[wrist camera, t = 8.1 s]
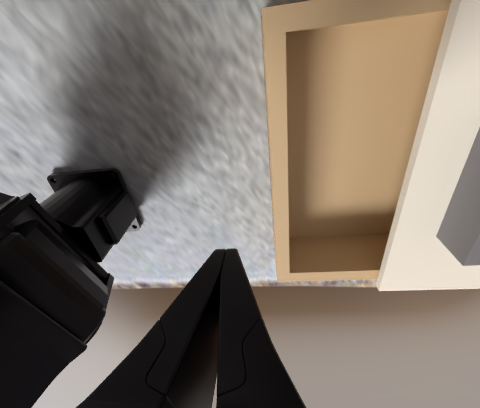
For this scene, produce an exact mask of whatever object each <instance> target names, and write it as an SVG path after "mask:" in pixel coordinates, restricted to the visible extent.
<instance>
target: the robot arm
mask: <svg viewBox="0 0 480 408" xmlns="http://www.w3.org/2000/svg"><path fill="white" fill-rule="evenodd" d="M112 173H113V174H114V175H115V176H113V175H112ZM54 179H55V180H54ZM47 180H48V182H49V184H50V185H51V187H52V189H53V190H54V192H55V193H54V194H53V195H51V196H50V197H48V198H47V199H46V200H44V201H43V202H42V203H40V204H39V203H38V202H37V201H36V198H35V197H34V196H33V195H32V194H31V193H28V194H26V195H23V196H21V197H18V196H17V197H15V196H9V195H6V194H3V193H0V408H31V407H32V406H33V405H34V403H35V402H36V401H37V399H38V398H39V397H40V396H41V395H42V393H43V392H44V391H45V389H46V388H47V387H48V386H49V385H50V383H51V382H52V381H53V380H54V379H55V377H56V376H57V375H58V374H59V373H60V372H61V371H62V370H63V369H64V368H65V367H66V366H67V365H68V364H69V363H70V362H71V361H73V360H74V359H75V358H76V357H78V356H79V355H80V354H81V353H82V352H84V351H85V350H86V348H87V345H86V344H87V343H88V342H89V341H90V340H91V338H92V337H93V336H94V335H95V333H96V332H97V330H98V329H99V327H100V325H101V324H102V321H103V318H104V317H105V314H106V307H107V303H108V300H109V296H110V292H111V288H112V284H113V281H114V277H113V276H112V275H111V274H110V273H107V272H106V271H105V270H104V269H103V268H102V267H101V266H100V265H99V264H98V263H97V262H102V260H103V259H104V258H105V256H106V255H107V253H108V252H109V251H110V249H111V248H112V246H113V245H114V244H118V242H119V241H120V239H121V238H122V237H123V235H124V234H125V232H126V231H138V230H139V229H140V228H141V222H140V220H139V218H138V214H137V211H136V209H135V206H134V204H133V201H132V199H131V197H130V194H129V192H128V191H127V189H126V187H125V184H124V182H123V179H122V177H121V175H120V172H119V171H118V170H117V169H114V168H109V169H98V170H87V171H75V172H64V173H53V174H51V175H49V176H48V177H47ZM135 225H136V226H135ZM216 377H217V406H216V408H306V406H305V404H304V403H303V401H302V399H301V397H300V395H299V393H298V392H297V390H296V388H295V386H294V384H293V382H292V380H291V378H290V377H289V375H288V373H287V371H286V369H285V367H284V365H283V363H282V362H281V360H280V358H279V356H278V354H277V352H276V349H275V348H274V346H273V343H272V341H271V339H270V337H269V334H268V331H267V329H266V326H265V323H264V321H263V319H262V316H261V313H260V310H259V307H258V305H257V302H256V299H255V297H254V294H253V291H252V289H251V286H250V283H249V280H248V278H247V275H246V272H245V269H244V267H243V264H242V261H241V259H240V256H239V253H238V250H237V249H236V248H234V249H227V250H225V249H216V250H215V251H214V252H213V253H212V254H211V255H210V257H209V258H208V259H207V260H206V262H205V263H204V264H203V265H202V267H201V268H200V269H199V270H198V272H197V273H196V274H195V275H194V277H193V278H192V279H191V280H190V281H189V283H188V284H187V285H186V286H185V288H184V289H183V290H182V291H181V293H180V294H179V295H178V296H177V298H176V299H175V300H174V301H173V303H172V304H171V305H170V306H169V308H168V309H167V310H166V311H165V313H164V314H163V315H162V316H161V318H160V320H158V321H157V322H156V324H155V325H154V326H153V327H152V329H151V330H150V331H149V332H148V333H147V335H146V336H145V337H144V338H143V339H142V340H141V342H140V343H139V344H138V345H137V346H136V347H135V348H134V349H133V350H132V352H131V353H130V354H129V355H128V356H127V357H126V358H125V359H124V360H123V361H122V362H121V363H120V364H119V365H118V366H117V367H116V368H115V369H114V370H113V371H112V373H111V374H110V375H109V376H108V377H107V378H106V379H105V380H104V381H103V382H102V383H101V384H100V385H99V386H98V387H97V388H96V389H95V390H94V391H93V392H92V393H91V394H90V395H89V396H88V397H87V398H86V399H85V400H84V401H83V402H82V403H81V404H80V405H79V406H77V407H76V408H212V402H213V395H214V389H215V384H216Z"/></svg>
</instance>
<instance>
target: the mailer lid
mask: <svg viewBox="0 0 480 408" xmlns="http://www.w3.org/2000/svg"><path fill="white" fill-rule="evenodd" d="M376 286H377V288H378V290H379V291H398V290H437V289H438V290H439V289H479V288H480V0H451V4H450V7H449V11H448V15H447V19H446V22H445V26H444V30H443V34H442V38H441V41H440V45H439V49H438V53H437V56H436V60H435V64H434V68H433V71H432V75H431V79H430V83H429V87H428V90H427V94H426V98H425V102H424V105H423V109H422V113H421V117H420V120H419V124H418V128H417V132H416V136H415V139H414V143H413V147H412V151H411V154H410V158H409V162H408V166H407V169H406V173H405V177H404V181H403V185H402V188H401V192H400V196H399V200H398V203H397V207H396V211H395V215H394V218H393V222H392V226H391V230H390V233H389V237H388V241H387V245H386V249H385V252H384V256H383V260H382V264H381V267H380V271H379V275H378V279H377V282H376Z"/></svg>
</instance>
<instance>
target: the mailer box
mask: <svg viewBox="0 0 480 408" xmlns="http://www.w3.org/2000/svg"><path fill="white" fill-rule="evenodd" d="M450 4H451V0H310V1H303V2H297V3H291V4H284V5H278V6H271V7H265V8H262V14H261V24H262V41H263V59H264V76H265V93H266V110H267V127H268V144H269V161H270V179H271V196H272V213H273V230H274V246H275V258H276V270H277V282H292V281H326V280H359V279H378V275H379V271H380V267H381V264H382V260H383V256H384V252H385V249H386V245H387V241H388V237H389V233H390V230H391V226H392V222H393V218H394V215H395V211H396V207H397V203H398V200H399V196H400V192H401V188H402V185H403V181H404V177H405V173H406V169H407V166H408V162H409V158H410V154H411V151H412V147H413V143H414V139H415V136H416V132H417V128H418V124H419V120H420V117H421V113H422V109H423V105H424V102H425V98H426V94H427V90H428V87H429V83H430V79H431V75H432V71H433V68H434V64H435V60H436V56H437V53H438V49H439V45H440V41H441V38H442V34H443V30H444V26H445V22H446V19H447V15H448V11H449V7H450Z"/></svg>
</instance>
